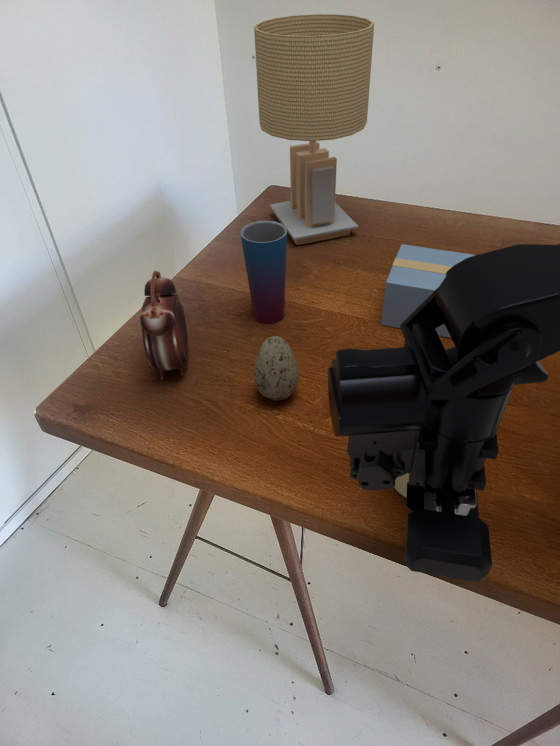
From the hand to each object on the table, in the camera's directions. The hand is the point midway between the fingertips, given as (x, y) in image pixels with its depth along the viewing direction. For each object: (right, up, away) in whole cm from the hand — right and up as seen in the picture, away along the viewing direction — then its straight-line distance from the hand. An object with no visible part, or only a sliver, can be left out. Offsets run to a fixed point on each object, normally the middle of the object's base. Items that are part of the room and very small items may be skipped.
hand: (429, 521), depth 51 cm
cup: (-17, +24, +35) cm, 45 cm away
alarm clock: (-31, +16, +26) cm, 43 cm away
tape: (+2, +3, +10) cm, 10 cm away
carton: (+9, +25, +34) cm, 43 cm away
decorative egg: (-15, +12, +21) cm, 28 cm away
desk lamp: (-8, +45, +57) cm, 73 cm away
